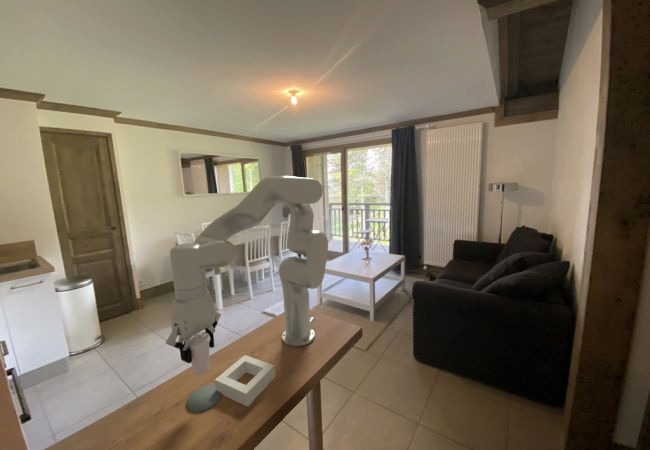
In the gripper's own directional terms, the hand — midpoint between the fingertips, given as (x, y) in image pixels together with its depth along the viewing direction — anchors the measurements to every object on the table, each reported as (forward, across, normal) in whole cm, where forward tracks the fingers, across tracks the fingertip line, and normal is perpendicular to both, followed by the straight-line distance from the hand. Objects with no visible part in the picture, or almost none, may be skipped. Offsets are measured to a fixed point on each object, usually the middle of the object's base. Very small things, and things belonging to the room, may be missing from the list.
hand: (198, 352), depth 72 cm
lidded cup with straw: (+6, 0, 0) cm, 6 cm away
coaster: (+14, 0, 0) cm, 14 cm away
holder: (+14, -9, +7) cm, 18 cm away
